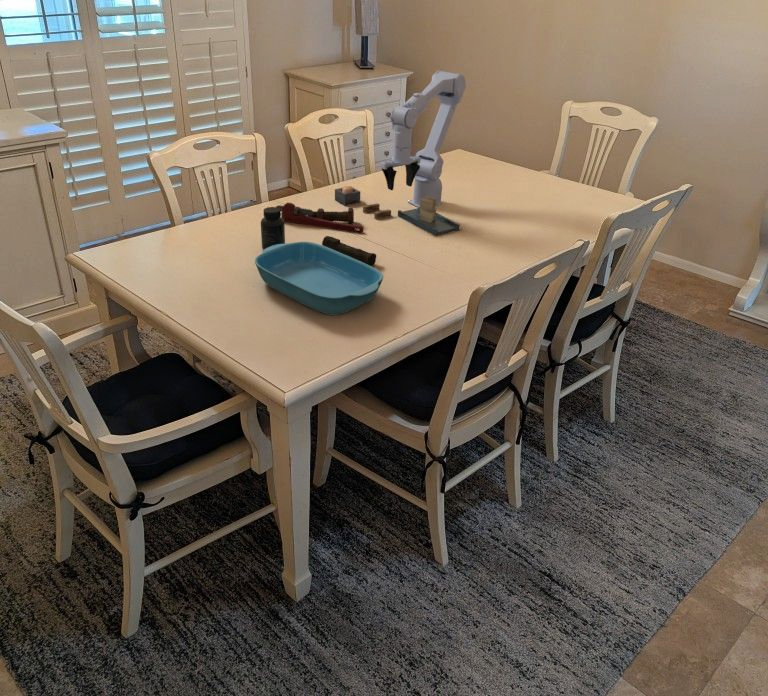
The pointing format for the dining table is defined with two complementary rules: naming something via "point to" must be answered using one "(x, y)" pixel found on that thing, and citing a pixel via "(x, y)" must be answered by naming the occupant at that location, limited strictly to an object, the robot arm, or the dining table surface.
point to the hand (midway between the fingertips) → (399, 187)
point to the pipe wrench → (313, 219)
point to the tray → (435, 227)
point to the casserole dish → (318, 276)
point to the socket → (374, 208)
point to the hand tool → (349, 250)
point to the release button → (347, 189)
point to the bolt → (335, 215)
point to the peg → (428, 209)
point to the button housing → (347, 197)
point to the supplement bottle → (272, 228)
